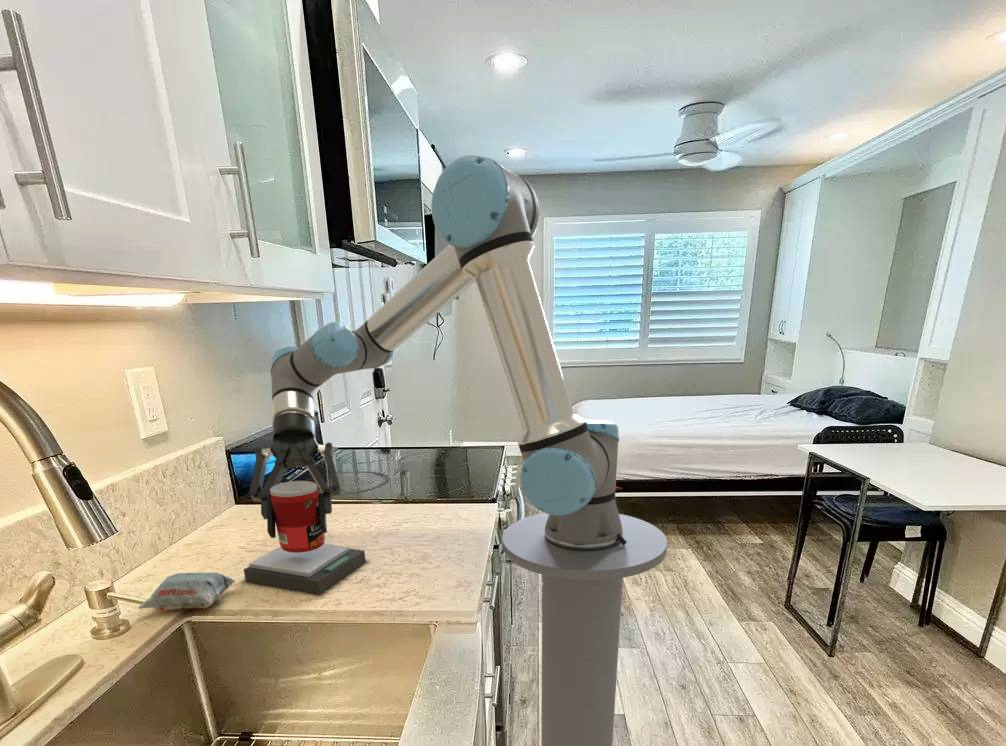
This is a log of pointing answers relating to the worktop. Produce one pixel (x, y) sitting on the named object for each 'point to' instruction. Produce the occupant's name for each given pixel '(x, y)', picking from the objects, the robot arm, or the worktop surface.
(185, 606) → the packaged food
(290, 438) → the robot arm
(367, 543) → the worktop surface
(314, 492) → the canned food
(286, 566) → the kitchen scale
